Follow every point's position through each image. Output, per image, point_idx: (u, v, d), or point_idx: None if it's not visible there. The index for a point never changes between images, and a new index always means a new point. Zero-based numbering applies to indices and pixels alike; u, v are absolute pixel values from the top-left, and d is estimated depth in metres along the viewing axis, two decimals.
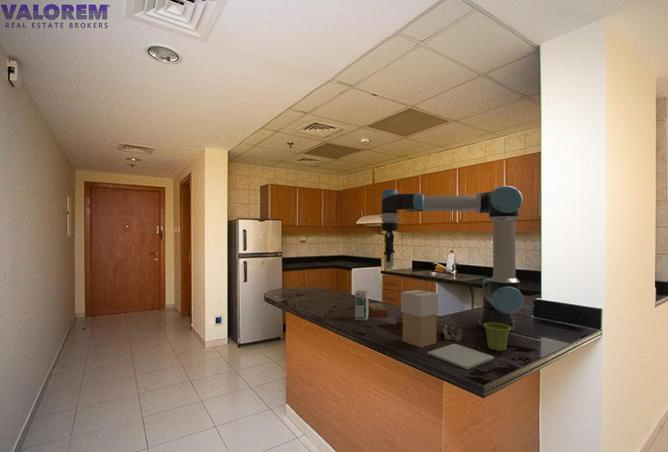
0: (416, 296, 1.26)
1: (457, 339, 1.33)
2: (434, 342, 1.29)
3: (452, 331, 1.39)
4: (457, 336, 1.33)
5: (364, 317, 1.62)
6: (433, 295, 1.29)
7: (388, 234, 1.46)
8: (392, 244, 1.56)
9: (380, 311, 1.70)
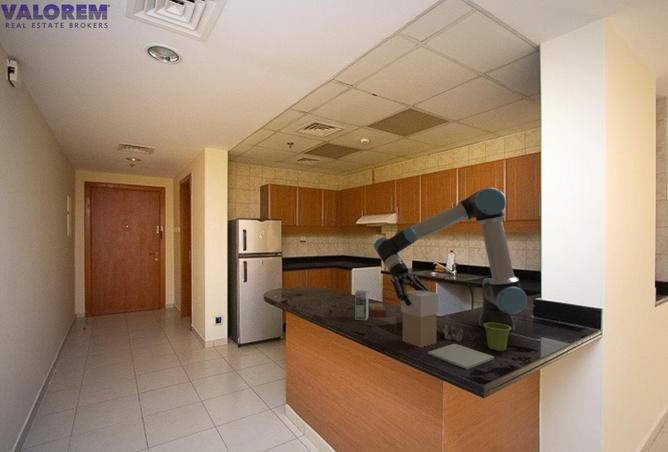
0: (416, 296, 1.26)
1: (458, 339, 1.33)
2: (434, 342, 1.29)
3: (453, 331, 1.39)
4: (458, 336, 1.33)
5: (364, 317, 1.62)
6: (433, 295, 1.29)
7: (392, 279, 1.35)
8: (416, 284, 1.37)
9: (379, 311, 1.70)
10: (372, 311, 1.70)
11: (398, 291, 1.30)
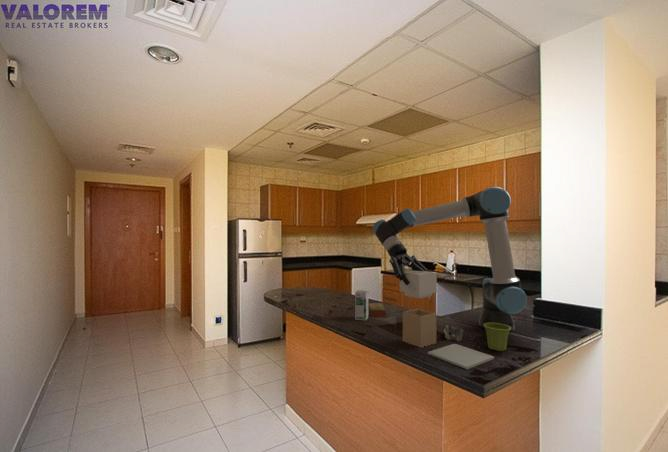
0: (414, 275, 1.26)
1: (458, 339, 1.33)
2: (434, 342, 1.29)
3: (453, 331, 1.39)
4: (458, 336, 1.33)
5: (364, 317, 1.62)
6: (431, 274, 1.29)
7: (391, 260, 1.35)
8: (415, 265, 1.37)
9: (379, 311, 1.70)
10: (372, 311, 1.70)
11: (396, 270, 1.30)
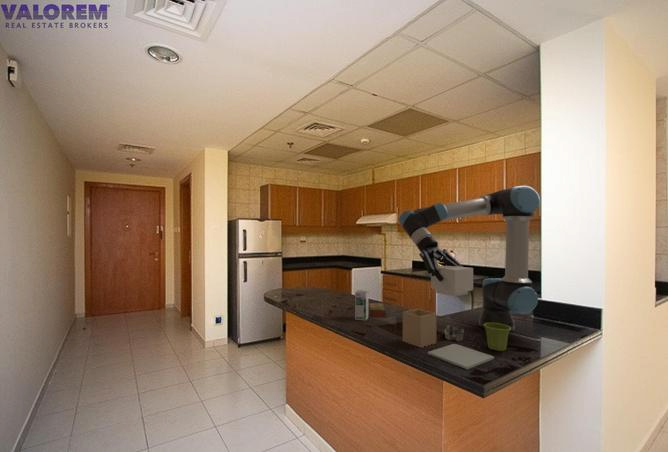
0: (449, 270, 1.13)
1: (458, 339, 1.33)
2: (434, 342, 1.29)
3: (454, 331, 1.39)
4: (458, 336, 1.33)
5: (364, 317, 1.62)
6: (468, 269, 1.16)
7: (421, 253, 1.22)
8: (447, 259, 1.24)
9: (378, 311, 1.70)
10: (371, 311, 1.70)
11: (428, 265, 1.17)
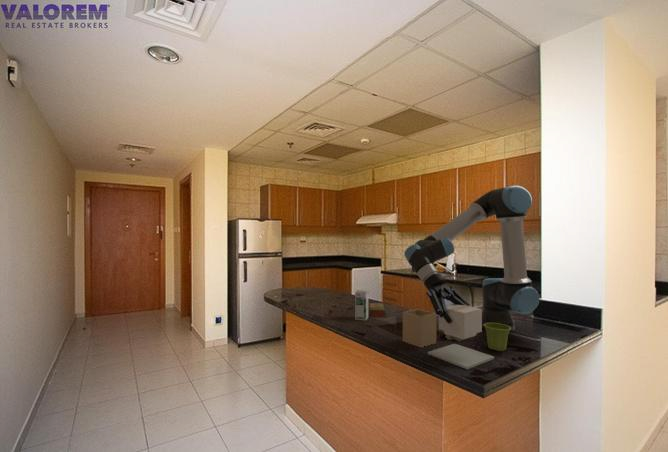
0: (458, 312, 1.11)
1: (458, 339, 1.33)
2: (434, 342, 1.29)
3: None
4: None
5: (364, 317, 1.62)
6: (477, 311, 1.14)
7: (429, 292, 1.20)
8: (455, 298, 1.22)
9: (378, 311, 1.70)
10: (371, 311, 1.71)
11: (437, 306, 1.15)
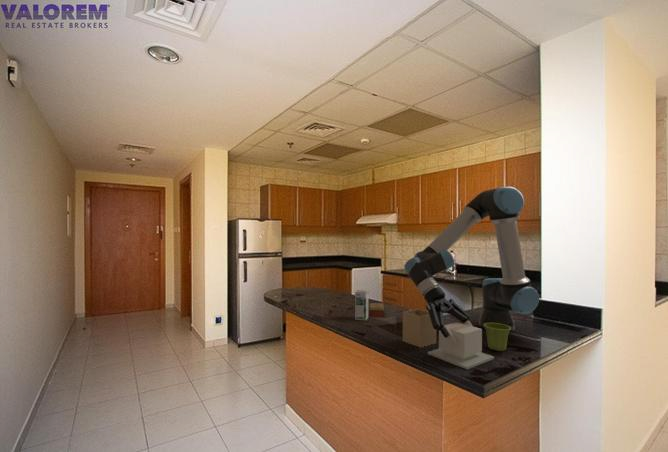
0: (458, 333, 1.11)
1: None
2: (434, 342, 1.29)
3: None
4: None
5: (364, 317, 1.62)
6: (477, 331, 1.14)
7: (428, 306, 1.20)
8: (455, 311, 1.22)
9: (377, 311, 1.70)
10: (370, 311, 1.71)
11: (434, 320, 1.15)
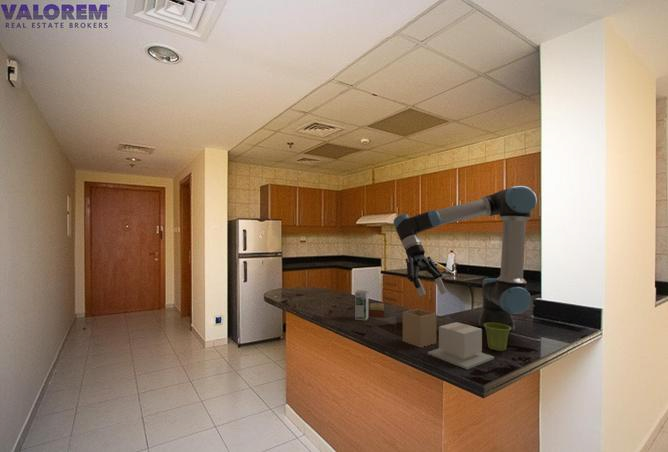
0: (458, 333, 1.11)
1: None
2: (434, 342, 1.29)
3: None
4: None
5: (364, 317, 1.62)
6: (477, 331, 1.14)
7: (407, 259, 1.32)
8: (431, 268, 1.36)
9: (377, 311, 1.70)
10: (370, 311, 1.71)
11: (410, 272, 1.28)
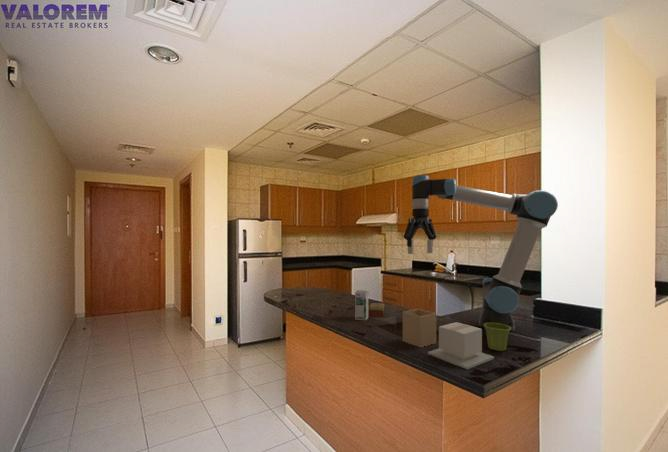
0: (458, 333, 1.11)
1: None
2: (434, 342, 1.29)
3: None
4: None
5: (364, 317, 1.62)
6: (477, 331, 1.14)
7: (410, 219, 1.49)
8: (428, 230, 1.54)
9: (376, 311, 1.70)
10: (369, 311, 1.71)
11: (407, 232, 1.47)
